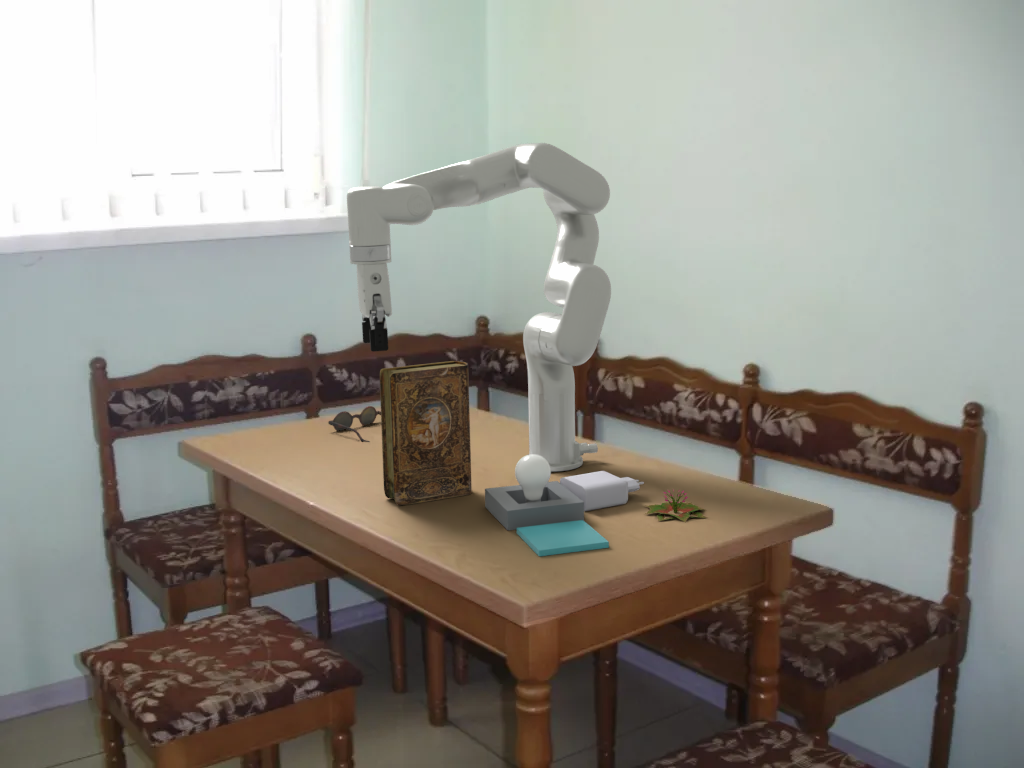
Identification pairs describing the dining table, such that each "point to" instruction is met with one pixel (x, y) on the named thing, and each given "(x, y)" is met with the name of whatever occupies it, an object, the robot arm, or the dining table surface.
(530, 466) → the lightbulb
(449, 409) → the book
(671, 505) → the lily flower
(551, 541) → the plate
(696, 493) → the dining table surface
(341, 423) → the eyeglasses
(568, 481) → the charger
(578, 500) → the frame
